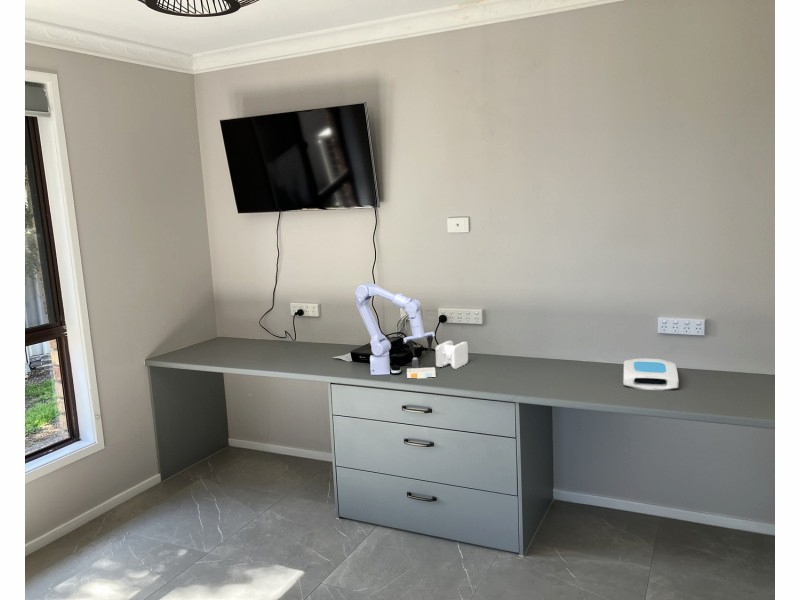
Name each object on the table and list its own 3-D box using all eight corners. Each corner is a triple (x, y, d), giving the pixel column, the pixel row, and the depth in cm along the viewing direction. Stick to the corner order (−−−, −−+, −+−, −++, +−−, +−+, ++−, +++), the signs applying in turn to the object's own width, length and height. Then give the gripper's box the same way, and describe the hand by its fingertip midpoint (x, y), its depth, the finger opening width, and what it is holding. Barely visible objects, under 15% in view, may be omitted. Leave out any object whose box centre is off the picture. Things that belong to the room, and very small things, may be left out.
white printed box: (407, 379, 292) (406, 372, 291) (407, 374, 299) (407, 368, 298) (435, 377, 291) (435, 371, 291) (435, 373, 298) (434, 367, 298)
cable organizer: (454, 371, 300) (453, 347, 298) (435, 369, 306) (434, 345, 304) (468, 363, 313) (468, 340, 311) (450, 361, 318) (449, 339, 317)
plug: (412, 372, 303) (411, 358, 301) (412, 370, 305) (411, 357, 304) (418, 371, 302) (418, 358, 301) (418, 370, 305) (418, 357, 304)
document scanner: (673, 372, 281) (674, 359, 280) (678, 391, 255) (678, 376, 254) (623, 370, 288) (624, 357, 287) (623, 388, 262) (623, 374, 261)
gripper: (402, 330, 288) (408, 358, 289) (433, 323, 289) (438, 352, 291) (400, 328, 295) (406, 356, 296) (430, 321, 296) (436, 349, 298)
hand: (422, 354), depth 294 cm, fingers open, 7 cm apart
